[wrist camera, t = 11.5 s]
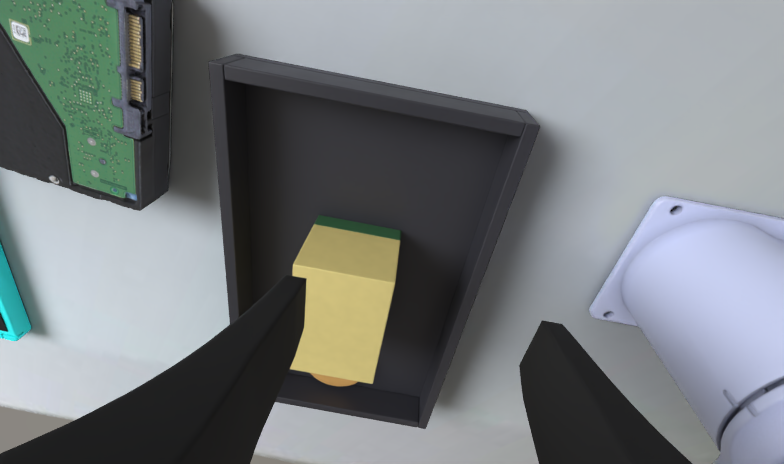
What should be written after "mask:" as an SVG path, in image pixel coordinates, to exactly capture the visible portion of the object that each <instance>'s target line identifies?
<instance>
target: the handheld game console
mask: <svg viewBox="0 0 784 464" xmlns="http://www.w3.org/2000/svg"><path fill="white" fill-rule="evenodd" d="M30 330H31V325H30V322H29V320H28V317H27V314H26V311H25V309H24V306H23V303H22V300H21V298H20V295H19V292H18V290H17V287H16V284H15V281H14V279H13V276H12V273H11V270H10V268H9V265H8V262H7V260H6V257H5V254H4V251H3V249H2V246H1V243H0V338H2V339H3V338H5V339H7V340H11V341H17V340H19V339H20V338H21V337H22V336H24V335H25V334H26V333H27V332H29V331H30Z"/></svg>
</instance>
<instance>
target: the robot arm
mask: <svg viewBox="0 0 784 464" xmlns="http://www.w3.org/2000/svg"><path fill="white" fill-rule="evenodd" d="M675 206H677V208H676V209H675V210H673V211H671V209H672V208H673V207H675ZM306 280H307V278H301V277H296V276H290V275H286V276H284V277H283V278H282V279H281V280H280V281H279V282H278V283H277V284H275V285H274V286H273V287H272V288H271V289H270V290H269V291H268V292H267V293H266V294H265V295H264V296H263V297H262V298H261V299H259V300H258V301H257V302H256V303H255V304H254V305H253V306H252V307H250V308H249V309H248V310H247V311H246V312H245V313H244V314H242V315H241V316H240V317H239V318H238V319H237V320H235V321H234V322H233V323H232V324H230V325H229V326H228V327H227V328H225V329H224V330H223V331H221V332H220V333H219V334H218V335H216V336H215V337H214V338H212V339H211V340H210V341H209V342H207V343H206V344H204V345H203V346H202V347H200V348H199V349H197V350H196V351H195V352H193V353H192V354H190V355H189V356H187V357H186V358H184V359H183V360H181V361H180V362H178V363H177V364H175V365H174V366H172V367H171V368H169V369H167V370H166V371H164V372H163V373H161V374H159V375H158V376H156V377H154V378H153V379H151V380H149V381H148V382H146V383H144V384H143V385H141V386H139V387H137V388H136V389H134V390H132V391H130V392H129V393H127V394H125V395H123V396H121V397H119V398H117V399H115V400H114V401H112V402H110V403H108V404H106V405H104V406H102V407H100V408H98V409H96V410H94V411H93V412H91V413H89V414H87V415H85V416H83V417H81V418H79V419H77V420H75V421H73V422H70V423H69V424H66V425H64V426H62V427H60V428H57V429H55V430H53V431H51V432H48V433H46V434H44V435H42V436H40V437H37V438H35V439H33V440H31V441H28V442H26V443H24V444H22V445H19V446H17V447H15V448H12V449H10V450H8V451H5V452H3V453H1V454H0V464H250V462H251V459H252V456H253V453H254V450H255V447H256V445H257V442H258V439H259V437H260V434H261V432H262V430H263V427H264V425H265V423H266V420H267V418H268V416H269V414H270V412H271V409H272V407H273V405H274V403H275V400H276V398H277V396H278V394H279V392H280V389H281V387H282V385H283V383H284V380H285V378H286V376H287V374H288V371H289V369H290V367H291V365H292V362H293V360H294V358H295V355H296V352H297V349H298V346H299V342H300V339H301V336H302V333H303V329H304V323H305V302H306ZM608 311H610V312H608ZM589 312H590V314H591V316H592V317H593V318H596V319H601V320H606V321H611V322H617V323H622V324H627V325H633V326H638V327H640V329H641V330H642V332H643V334H644V335H645V337H646V338H647V340H648V341H649V343H650V344H651V346H652V347H653V349H654V350H655V352H656V354H657V355H658V357H659V358H660V360H661V361H662V363H663V364H664V366H665V367H666V369H667V371H668V372H669V374H670V375H671V377H672V378H673V380H674V381H675V383H676V384H677V386H678V388H679V389H680V391H681V392H682V394H683V395H684V397H685V398H686V400H687V401H688V403H689V405H690V406H691V408H692V409H693V411H694V412H695V414H696V415H697V417H698V418H699V420H700V422H701V423H702V425H703V426H704V428H705V429H706V431H707V432H708V434H709V435H710V437H711V439H712V440H713V442H714V443H715V445H716V446H717V448H718V449H719V451H720V455H719V457H718V458H717V460H716V461H715V462H713V463H712V464H784V218H779V217H773V216H768V215H763V214H758V213H753V212H747V211H742V210H737V209H732V208H727V207H722V206H716V205H711V204H706V203H701V202H696V201H690V200H685V199H680V198H675V197H670V196H663V197H659V198H658V199H656V200H655V201H654V202H653V203H652V205H651V207H650V208H649V210H648V212H647V213H646V215H645V217H644V218H643V220H642V222H641V223H640V225H639V227H638V228H637V230H636V232H635V233H634V235H633V237H632V238H631V240H630V242H629V243H628V245H627V247H626V248H625V250H624V252H623V253H622V255H621V256H620V258H619V260H618V261H617V263H616V265H615V266H614V268H613V270H612V271H611V273H610V275H609V276H608V278H607V280H606V281H605V283H604V285H603V286H602V288H601V290H600V291H599V293H598V295H597V296H596V298H595V300H594V301H593V303H592V305H591V306H590V308H589ZM606 312H608V313H606ZM520 376H521V385H522V393H523V400H524V404H525V408H526V412H527V417H528V421H529V425H530V429H531V433H532V437H533V441H534V445H535V449H536V453H537V457H538V461H539V464H692V463H691V462H690V461H689V460H688V459H687V458H686V457H685V456H684V455H682V454H681V453H680V452H679V451H678V450H677V449H676V448H675V447H674V446H673V445H672V444H671V443H670V442H669V441H668V440H667V439H665V438H664V437H663V436H662V435H661V434H660V433H659V432H658V431H657V430H656V429H655V428H654V427H653V426H652V425H651V424H650V423H649V422H648V421H647V420H646V418H645V417H644V416H643V415H642V414H641V413H640V412H639V411H638V410H637V409H636V408H635V407H634V406H633V405H632V404H631V403H630V402H629V401H628V399H627V398H626V397H625V396H624V395H623V394H622V393H621V392H620V391H619V390H618V388H617V387H616V386H615V385H614V384H613V383H612V382H611V380H610V379H609V378H608V377H607V376H606V375H605V374H604V372H603V371H602V370H601V369H600V368H599V367H598V365H597V364H596V363H595V362H594V361H593V360H592V358H591V357H590V356H589V355H588V354H587V352H586V351H585V350H584V349H583V348H582V346H581V345H580V344H579V343H578V342H577V341H576V339H575V338H574V337H573V336H572V335H571V334H570V332H569V331H568V330H567V329H566V328H565V327H564V326H563V325H562V324H559V323H553V322H548V321H542V322H541V324H540V326H539V328H538V330H537V332H536V334H535V336H534V337H533V339H532V341H531V343H530V345H529V347H528V349H527V351H526V353H525V355H524V357H523V359H522V361H521V363H520Z"/></svg>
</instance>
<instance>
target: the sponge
mask: <svg viewBox="0 0 784 464" xmlns="http://www.w3.org/2000/svg"><path fill="white" fill-rule="evenodd" d="M400 240H401V230H396V229H391V228H385V227H380V226H375V225H370V224H364V223H359V222H354V221H348V220H343V219H338V218H333V217H327V216H322V215H319V216H318V218H317V219H316V221H315V223H314V225H313V227H312V229H311V231H310V233H309V235H308V237H307V238H306V240H305V242H304V244H303V246H302V248H301V250H300V252H299V254H298V256H297V258H296V260H295V262H294V264H293V276H296V277H301V278H307V280H306V302H305V323H304V329H303V333H302V336H301V339H300V342H299V346H298V349H297V352H296V355H295V358H294V360H293V362H292V365H291V367H290V369H292V370H298V371H303V372H309V373H314V374H320V375H325V376H331V377H336V378H342V379H347V380H353V381H358V382H364V383H369V384H373V381H374V376H375V372H376V368H377V363H378V359H379V354H380V350H381V345H382V341H383V336H384V332H385V327H386V323H387V319H388V314H389V310H390V305H391V301H392V296H393V292H394V287H395V282H396V274H397V266H398V257H399V249H400Z"/></svg>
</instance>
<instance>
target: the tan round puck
mask: <svg viewBox="0 0 784 464" xmlns="http://www.w3.org/2000/svg"><path fill="white" fill-rule="evenodd" d="M311 374H312V375H313V376H314V377H315V378H316V379H317V380H319V381H321V382H323V383H325V384H328V385H332V386H350V385H353V384H355V383H357V382H358V381H353V380H347V379H342V378H336V377H331V376H325V375H320V374H314V373H311Z"/></svg>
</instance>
